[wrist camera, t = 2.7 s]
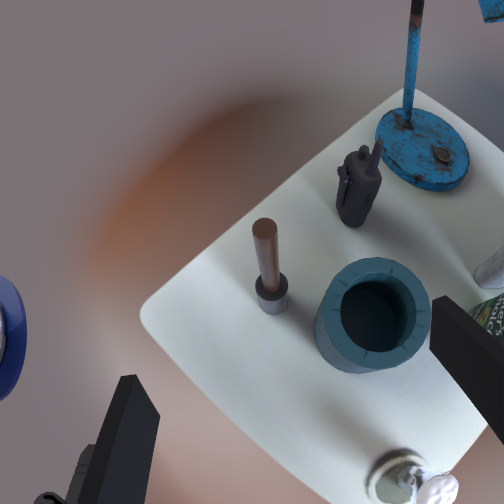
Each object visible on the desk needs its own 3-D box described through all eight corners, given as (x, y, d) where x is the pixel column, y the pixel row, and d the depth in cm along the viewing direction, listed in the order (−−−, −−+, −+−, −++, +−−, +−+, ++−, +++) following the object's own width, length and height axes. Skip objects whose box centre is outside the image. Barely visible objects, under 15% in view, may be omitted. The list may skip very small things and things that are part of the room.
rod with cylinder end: (271, 320, 36) (261, 261, 20) (253, 299, 38) (229, 226, 21) (293, 302, 37) (300, 230, 21) (275, 282, 38) (267, 198, 22)
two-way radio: (368, 227, 40) (401, 151, 26) (336, 234, 40) (357, 157, 26) (354, 192, 42) (376, 110, 28) (323, 198, 42) (336, 114, 28)
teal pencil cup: (355, 392, 32) (377, 393, 24) (295, 326, 36) (299, 308, 28) (415, 329, 34) (449, 311, 26) (358, 269, 38) (377, 236, 29)
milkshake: (427, 449, 28) (469, 464, 19) (425, 488, 26) (464, 512, 17) (392, 457, 28) (427, 477, 19) (390, 497, 26) (421, 526, 17)
